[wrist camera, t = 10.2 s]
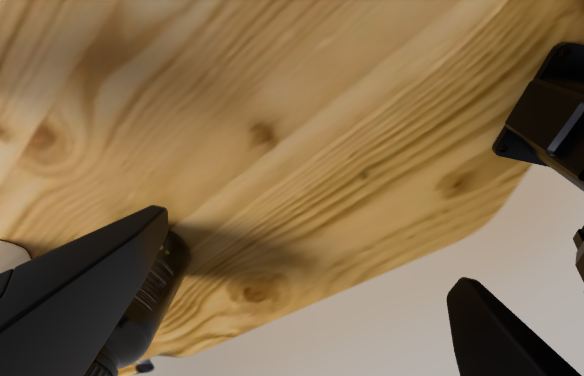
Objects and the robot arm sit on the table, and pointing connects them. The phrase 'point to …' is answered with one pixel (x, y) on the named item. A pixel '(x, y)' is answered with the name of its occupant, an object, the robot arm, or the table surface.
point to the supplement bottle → (144, 310)
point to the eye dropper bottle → (12, 256)
